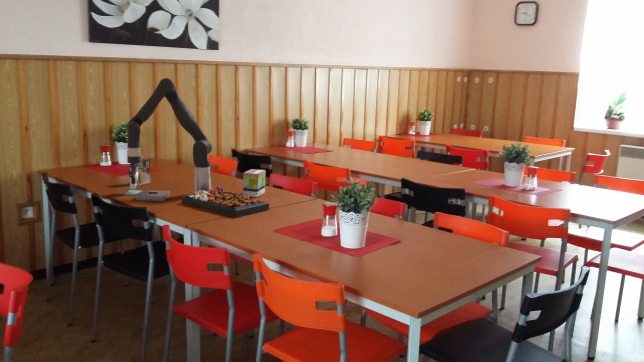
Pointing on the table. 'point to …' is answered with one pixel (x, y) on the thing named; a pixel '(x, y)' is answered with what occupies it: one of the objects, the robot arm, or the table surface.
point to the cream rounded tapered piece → (133, 186)
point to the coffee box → (144, 172)
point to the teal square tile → (133, 192)
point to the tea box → (254, 182)
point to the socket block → (152, 195)
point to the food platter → (225, 202)
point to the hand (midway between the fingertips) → (134, 183)
